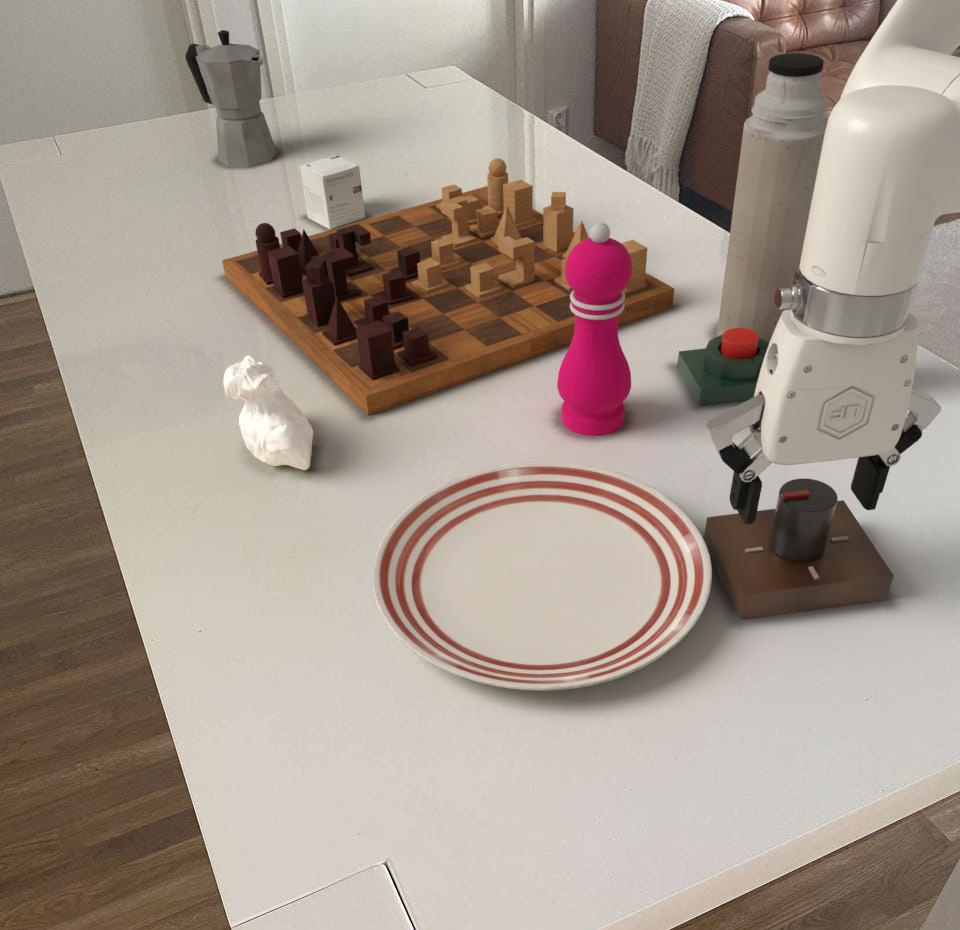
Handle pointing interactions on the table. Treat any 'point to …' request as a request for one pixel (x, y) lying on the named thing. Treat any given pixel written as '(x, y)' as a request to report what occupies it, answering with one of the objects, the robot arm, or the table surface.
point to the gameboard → (430, 290)
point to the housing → (720, 373)
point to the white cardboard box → (333, 191)
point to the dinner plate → (542, 575)
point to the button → (739, 343)
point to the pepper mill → (596, 336)
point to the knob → (802, 519)
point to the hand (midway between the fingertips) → (802, 506)
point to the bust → (269, 416)
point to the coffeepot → (233, 100)
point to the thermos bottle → (773, 193)
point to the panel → (795, 567)
